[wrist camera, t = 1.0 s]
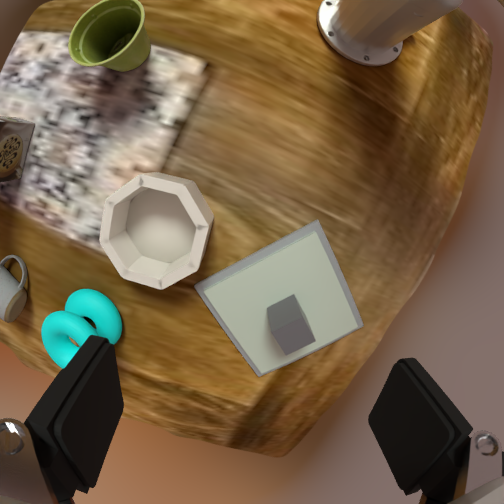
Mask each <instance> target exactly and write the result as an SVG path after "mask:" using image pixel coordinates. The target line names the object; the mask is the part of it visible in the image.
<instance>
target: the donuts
mask: <svg viewBox="0 0 504 504" xmlns="http://www.w3.org/2000/svg"><path fill="white" fill-rule="evenodd" d="M84 316H86V317H88V318H90V319H92V320H93V322H94V323H95V325H96V327H97V329H95V328H93V327H92V326H91V325H90V324H89V323H88V322H87V321H86V320H85V319H84ZM121 332H122V321H121V317H120V314H119V312H118V310H117V308H116V306H115V305H114V304H113V303H112V301H111V300H110V299H109V298H107V297H106V296H105V295H104V294H102V293H100V292H98V291H95V290H92V289H80V290H77V291H75V292H74V293H73V294H71V295H70V297H69V298H68V300H67V302H66V305H65V311H56V312H53V313H51V314H50V315H48V316H47V317H46V319H45V320H44V322H43V325H42V332H41V333H42V340H43V344H44V346H45V348H46V350H47V352H48V354H49V355H50V357H51V358H52V359H53V360H54V362H55V363H56V364H57V365H59V366H60V367H61V368H62V369H63V368H65V367H66V366H67V364H68V363H69V362H70V360H71V359H72V358H73V356H74V355H75V354H76V352H77V351H78V350H79V349H80V347H81V346H82V345H83V343H84V342H85V341H86V340H87V338H88V337H89V336H90V335H96V336H100V337H104V338H108V340H109V342H110V343H111V344H113V345H114V344H115V343H116V342H117V341H118V340H119V338H120V336H121ZM69 337H71V338H72V339H73V340H75V341H76V342H77V343H78V345H79V346H80V347H77V346H76V345H74V344H73V343H72V342H71V340H70V339H69Z"/></svg>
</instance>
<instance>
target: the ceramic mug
mask: <svg viewBox="0 0 504 504" xmlns="http://www.w3.org/2000/svg"><path fill="white" fill-rule="evenodd" d="M10 258H15V259H16V260H17V261H18V262H19V264H20V266H21V268H22V273H23V274H22V280H21V283H19V282H18V281H17V280H16V279H15V278H14V277H13V276H12V275H11V274H10V272H9V271H8V270H7V269H6V268H5V267H4V264H5V262H6V261H7V260H8V259H10ZM26 278H27V268H26V265H25V263H24V261H23V260H22V259H21V258H20V257H19V256H16V255H9V256H6V257H5V258H4V259H3V260H2V261H1V262H0V318H1V319H2V320H4V321H6V322H8V323H9V322H12V321H14V320H15V319H16V318H17V317H18V316H19V314H20V313H21V311H22V310H23V308H24V306H25V303H26V300H27V293H26V290H25V289H24V288H23V286H24V284H25V282H26Z"/></svg>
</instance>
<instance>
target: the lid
mask: <svg viewBox="0 0 504 504" xmlns="http://www.w3.org/2000/svg"><path fill="white" fill-rule="evenodd" d="M204 293H205V295H206V296H207V298H208V299H209V301H210V302H211V304H212V305H213V307H214V308H215V310H216V311H217V312H218V314H219V315H220V317H221V318H222V320H223V321H224V323H225V324H226V325H227V327H228V328H229V330H230V331H231V332H232V334H233V335H234V337H235V338H236V340H237V341H238V342H239V344H240V345H241V346H242V348H243V349H244V351H245V352H246V353H247V355H248V356H249V357H250V359H251V360H252V362H253V363H254V364H255V366H256V367H257V368H258V370H259V371H260V372H261V374H262V373H265V372H267V371H269V370H272V369H274V368H276V367H279V366H281V365H283V364H285V363H288V362H290V361H292V360H294V359H296V358H298V357H300V356H303V355H305V354H307V353H309V352H311V351H313V350H315V349H317V348H319V347H321V346H323V345H325V344H327V343H329V342H331V341H333V340H335V339H337V338H339V337H341V336H342V335H344V334H346V333H348V332H350V331H352V330H354V329H355V328H357V327H358V325H357V323H356V321H355V318H354V316H353V313H352V311H351V309H350V306H349V304H348V301H347V299H346V297H345V294H344V292H343V290H342V288H341V285H340V283H339V281H338V278H337V276H336V274H335V272H334V270H333V267H332V265H331V263H330V261H329V259H328V256H327V254H326V252H325V250H324V248H323V246H322V244H321V241H320V239H319V237H318V235H317V233H316V232H315V231H314V232H312V233H310V234H308V235H306V236H304V237H302V238H300V239H299V240H297V241H295V242H293V243H291V244H289V245H287V246H285V247H284V248H282V249H280V250H278V251H276V252H274V253H272V254H270V255H268V256H267V257H265V258H263V259H261V260H259V261H257V262H255V263H253V264H251V265H249V266H248V267H246V268H244V269H242V270H240V271H238V272H236V273H234V274H232V275H230V276H229V277H227V278H225V279H223V280H221V281H219V282H217V283H215V284H213V285H211V286H209V287H207V288H206V289H204Z"/></svg>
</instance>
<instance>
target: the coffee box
mask: <svg viewBox="0 0 504 504" xmlns="http://www.w3.org/2000/svg"><path fill="white" fill-rule="evenodd" d="M34 125H35V123H32V122H29V121H26V120H23V119H20V118H16V117H2V116H0V182H4V181H9V180H15V179H20V178H21V174H22V170H23V165H24V161H25V157H26V153H27V149H28V145H29V142H30V138H31V135H32V131H33V128H34Z"/></svg>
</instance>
